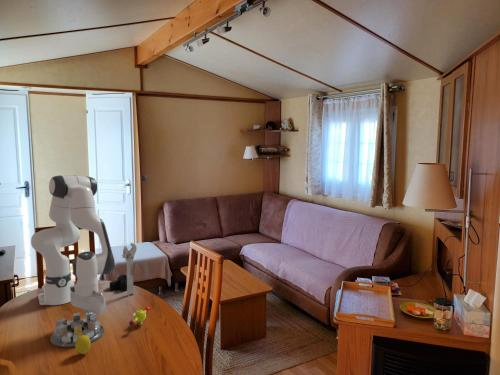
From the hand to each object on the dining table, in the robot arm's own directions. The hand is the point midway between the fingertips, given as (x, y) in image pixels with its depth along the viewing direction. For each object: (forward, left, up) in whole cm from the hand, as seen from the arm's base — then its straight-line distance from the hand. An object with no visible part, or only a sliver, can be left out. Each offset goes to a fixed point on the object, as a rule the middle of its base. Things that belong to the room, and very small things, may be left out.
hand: (88, 318), depth 174 cm
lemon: (+21, -10, -5) cm, 24 cm away
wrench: (-23, +31, -5) cm, 39 cm away
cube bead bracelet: (+3, -6, -3) cm, 8 cm away
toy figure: (+12, +19, -5) cm, 22 cm away
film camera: (-37, +31, -5) cm, 48 cm away
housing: (+3, -6, -5) cm, 8 cm away
